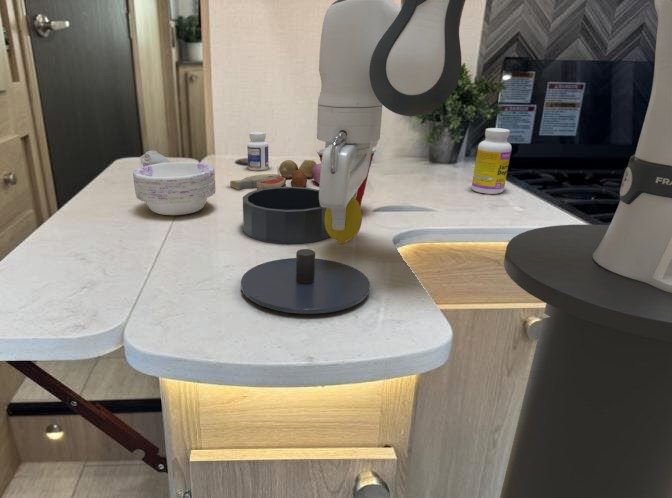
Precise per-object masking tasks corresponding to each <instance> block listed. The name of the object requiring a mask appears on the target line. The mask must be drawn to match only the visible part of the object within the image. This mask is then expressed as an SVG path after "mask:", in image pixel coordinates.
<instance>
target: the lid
mask: <svg viewBox="0 0 672 498" xmlns="http://www.w3.org/2000/svg"><path fill="white" fill-rule="evenodd" d="M295 255H296V256H295V257H290V258H289V257H288V258H280V259H275V260H270V261H266V262H262V263H260V264H258V265H255V266H253V267H251V268H250V269H247V271H246V272H244V274H243V275H242V277H241V280H240V289H241V291H242V293H243V295H244V296H245V297H246V298H247V299H249V300H250V301H251V302H253V303H254V304H257V305H259V306H261V307H264V308H267V309H270V310H273V311H278V312H283V313H284V312H285V313H290V314H304V315H309V314H312V315H314V314H316V315H317V314H326V313H334V312H338V311H343V310H346V309H350V308H351V307H354V306H356V305H358V304H360V303H361V302H363V301H364V300H365V299H366V298H367V297H368V295H369V293H370V290H371V282H370V279H369V278H368V277H367V275H366V274H365V273H364V272H362V271H361V270H360V269H358V268H355V267H353V266H352V265H349V264H345V263H343V262H339V261H335V260H330V259H324V258H316V251H315V250H313V249H311V248H310V249H309V248H301V249H298V250H297V251H296V254H295Z"/></svg>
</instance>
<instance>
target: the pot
mask: <svg viewBox="0 0 672 498" xmlns="http://www.w3.org/2000/svg"><path fill="white" fill-rule="evenodd" d="M326 209H327V208H325V207H321V206H320V203H319V189H317V188H313V187H303V188H302V187H292V186H286V187H273V188H266V189H260V190H257V189H256V190H254V191H253V190H252V191H250V192H247V193H246V194H245V195H243V196H242V223H243V224H242V226H243V232H244V233H245V234H246V235H247V236H249V237H250V238H253V239H254V240H258V241H261V242H266V243H273V244H283V245H285V244H286V245H295V244H307V243H315V242H319V241H322V240H325V239H327V238H329V237H331V236H330V235H329V234H328V232H327V230H326V227H325V213H326Z"/></svg>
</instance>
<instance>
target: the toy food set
mask: <svg viewBox="0 0 672 498" xmlns="http://www.w3.org/2000/svg"><path fill="white" fill-rule="evenodd" d="M278 172H279V174H277V173H266V174H265V173H263V174H256V175H251V176H246V177H244V178H242V179H240V180H230V182H229V185H230V187H231V188H233V189H234V190H235V189H236V190H238V191H240V190H242V189H252V188H256V190H260V189H266V188H273V187H287V184H286V183H287V179H290V178H291V181H290V187H302V188H305V186H306V185H307V182H308V178H309V179H310V178H312V180H314V181H315V182H316V183H317V184H318V185H320V172H321V163H317V162H316V161H315V160H311V159H304V160H303V161H302V163H301V164H300V165H299V166H298V164H297V163H296V162H295V161H294V160H292V159H285V160H284V161H282V162H281V163H280V164H279V167H278Z"/></svg>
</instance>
